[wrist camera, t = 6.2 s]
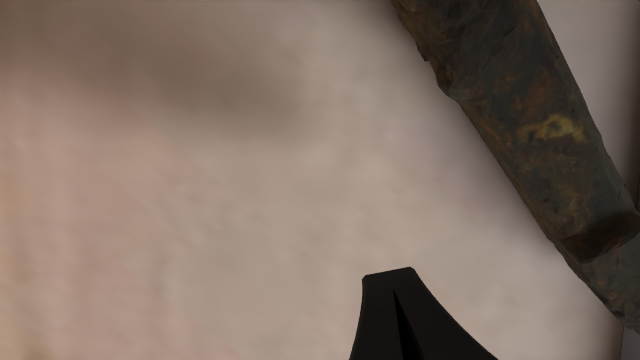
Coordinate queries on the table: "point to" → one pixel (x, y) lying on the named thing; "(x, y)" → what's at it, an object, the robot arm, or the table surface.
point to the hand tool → (537, 133)
